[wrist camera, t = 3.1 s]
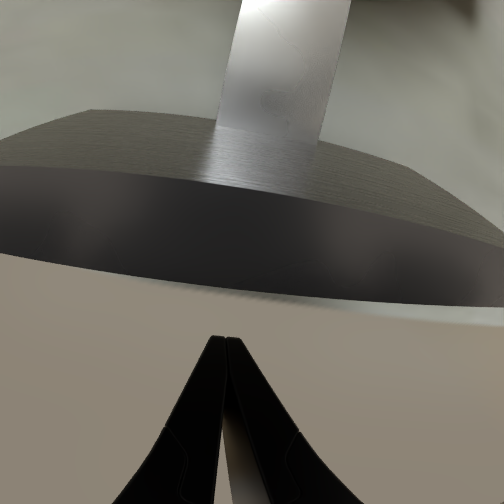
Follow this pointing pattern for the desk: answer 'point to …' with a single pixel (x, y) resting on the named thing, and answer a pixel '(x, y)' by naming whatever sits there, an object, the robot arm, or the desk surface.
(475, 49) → the desk surface
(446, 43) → the desk surface
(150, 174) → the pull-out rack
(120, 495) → the robot arm
